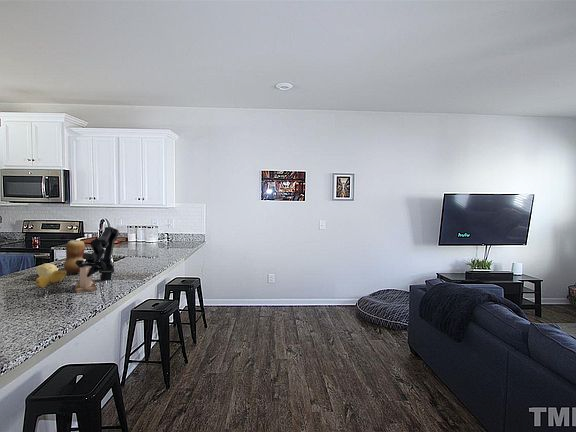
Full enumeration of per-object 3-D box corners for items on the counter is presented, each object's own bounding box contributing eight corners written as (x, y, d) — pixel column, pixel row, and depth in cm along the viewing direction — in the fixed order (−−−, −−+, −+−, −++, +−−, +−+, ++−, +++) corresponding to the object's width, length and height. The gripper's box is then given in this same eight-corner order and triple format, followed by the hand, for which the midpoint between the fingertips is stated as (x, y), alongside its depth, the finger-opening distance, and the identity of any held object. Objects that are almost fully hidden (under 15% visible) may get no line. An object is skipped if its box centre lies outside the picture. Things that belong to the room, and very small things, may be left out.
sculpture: (33, 279, 252) (33, 263, 251) (49, 275, 263) (49, 261, 263) (45, 280, 248) (45, 265, 248) (61, 277, 259) (61, 262, 259)
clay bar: (85, 285, 226) (85, 266, 225) (91, 285, 225) (91, 266, 225) (79, 287, 222) (79, 267, 221) (86, 287, 221) (86, 268, 220)
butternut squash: (80, 275, 267) (80, 241, 266) (60, 275, 265) (60, 241, 264) (87, 271, 281) (87, 239, 280) (68, 271, 279) (68, 239, 277)
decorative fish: (64, 278, 249) (61, 265, 247) (68, 279, 249) (65, 265, 246) (36, 293, 229) (33, 279, 226) (41, 294, 228) (37, 279, 225)
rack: (95, 285, 239) (95, 280, 239) (95, 293, 220) (95, 288, 220) (75, 287, 234) (75, 282, 233) (74, 295, 215) (74, 289, 215)
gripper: (77, 247, 228) (63, 267, 218) (103, 248, 224) (90, 270, 214) (86, 257, 236) (73, 278, 226) (112, 259, 233) (100, 280, 222)
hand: (84, 276), depth 222 cm, fingers closed on clay bar, 4 cm apart
